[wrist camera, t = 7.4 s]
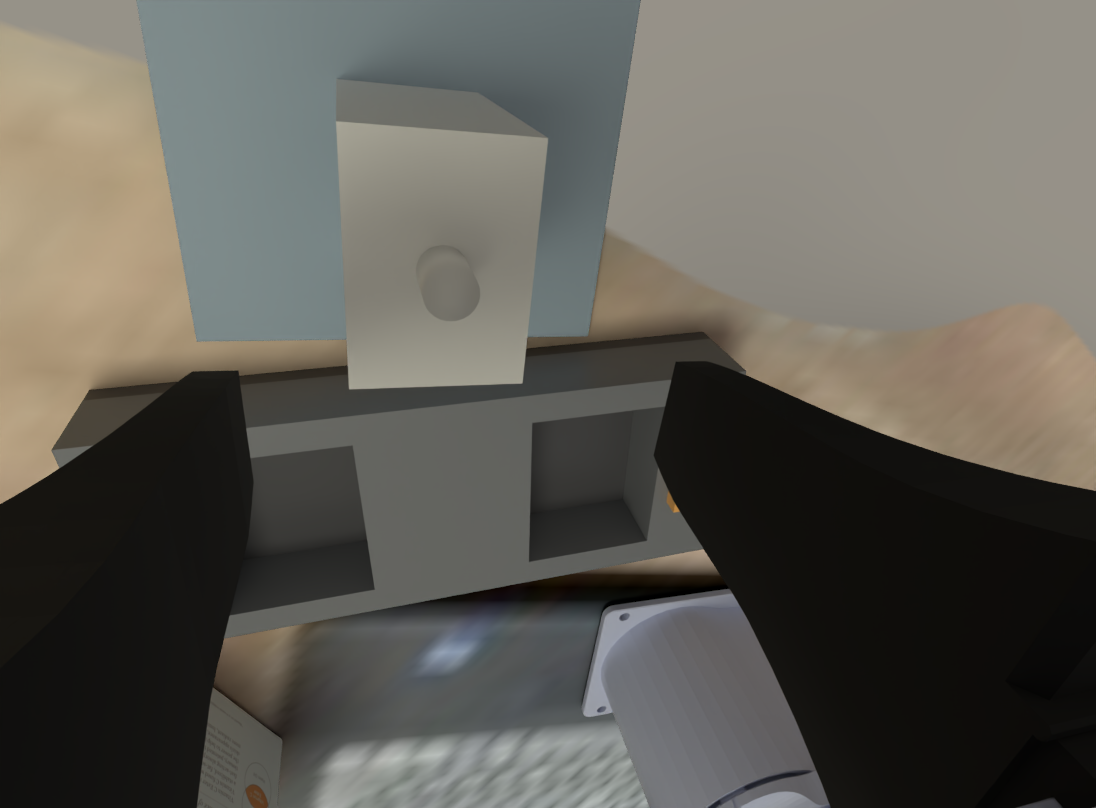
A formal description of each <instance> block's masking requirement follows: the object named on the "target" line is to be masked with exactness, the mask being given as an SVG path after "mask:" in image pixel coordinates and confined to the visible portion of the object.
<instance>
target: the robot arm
mask: <svg viewBox="0 0 1096 808" xmlns="http://www.w3.org/2000/svg"><path fill="white" fill-rule="evenodd" d="M653 456H654V458H655V460H656V463H657V465H658V468H659V470H660V473H661V475H662V477H663V480H664V482H665V484H666V486H667V489H668V491H669V493H670V495H671V497H672V499H673V501H674V503H675V504H676V506H677V508H678V509H679V511H680V513H681V514H682V516H683V517H684V519H685V521H686V522H687V524H688V525H689V527H690V528H691V530H692V532H693V533H694V535H695V536H696V538H697V539H698V541H699V543H700V544H701V546H702V547H703V549H704V550H705V552H706V553H707V555H708V557H709V558H710V560H711V561H712V563H713V564H714V566H715V567H716V569H717V570H718V572H719V574H720V575H721V577H722V578H723V580H724V581H725V583H726V584H727V586H728V588H729V589H724V590H717V591H710V592H703V593H696V594H688V595H681V596H674V597H667V598H660V599H653V600H646V601H639V602H632V603H625V604H618V605H612V606H609V607H607V608H606V609H605V610H604V611H603V613H602V617H601V622H600V626H599V631H598V635H597V640H596V644H595V649H594V653H593V658H592V662H591V667H590V672H589V676H588V681H587V685H586V690H585V694H584V699H583V703H582V711H583V714H584V715H585V716H588V717H592V716H597V715H602V714H607V713H613V714H614V717H615V719H616V722H617V724H618V727H619V729H620V732H621V735H622V737H623V740H624V742H625V745H626V748H627V750H628V753H629V755H630V758H631V760H632V763H633V766H634V768H635V771H636V773H637V776H638V778H639V781H640V784H641V786H642V789H643V791H644V794H645V797H646V799H647V802H648V804H649V807H650V808H1096V491H1093V490H1088V489H1082V488H1077V487H1072V486H1067V485H1062V484H1057V483H1052V482H1048V481H1043V480H1039V479H1034V478H1030V477H1026V476H1021V475H1017V474H1013V473H1009V472H1005V471H1001V470H998V469H994V468H990V467H986V466H982V465H979V464H975V463H971V462H967V461H964V460H960V459H957V458H954V457H950V456H947V455H943V454H940V453H937V452H934V451H931V450H928V449H925V448H922V447H919V446H916V445H913V444H910V443H907V442H904V441H901V440H898V439H895V438H892V437H890V436H887V435H884V434H882V433H879V432H876V431H874V430H871V429H869V428H866V427H864V426H861V425H859V424H856V423H854V422H851V421H849V420H846V419H844V418H841V417H839V416H837V415H834V414H832V413H830V412H827V411H825V410H823V409H820V408H818V407H816V406H813V405H811V404H809V403H807V402H804V401H802V400H800V399H798V398H796V397H793V396H791V395H789V394H787V393H785V392H782V391H780V390H778V389H776V388H773V387H771V386H769V385H767V384H765V383H762V382H760V381H758V380H756V379H753V378H751V377H749V376H746V375H744V374H742V373H739V372H737V371H734V370H732V369H729V368H727V367H724V366H721V365H718V364H715V363H711V362H708V361H682V362H676V363H675V367H674V371H673V375H672V379H671V384H670V388H669V392H668V396H667V400H666V405H665V409H664V413H663V417H662V421H661V426H660V430H659V434H658V438H657V442H656V447H655V451H654V455H653ZM253 485H254V480H253V473H252V466H251V458H250V451H249V444H248V437H247V430H246V422H245V415H244V408H243V401H242V394H241V386H240V379H239V372H238V371H198V372H191V373H190V374H188V375H187V376H185V377H184V378H183V379H181V380H180V381H179V382H177V383H176V384H175V385H173V386H172V387H171V388H169V389H168V390H167V391H166V392H164V393H163V394H162V395H160V396H159V397H158V398H157V399H155V400H154V401H153V402H152V403H150V404H149V405H148V406H146V407H145V408H144V409H142V410H141V411H140V412H138V413H137V414H136V415H135V416H133V417H132V418H131V419H129V420H128V421H127V422H125V423H124V424H123V425H121V426H120V427H119V428H117V429H116V430H115V431H113V432H112V433H111V434H109V435H108V436H107V437H105V438H104V439H102V440H101V441H99V442H98V443H96V444H95V445H93V446H92V447H90V448H89V449H87V450H86V451H84V452H83V453H81V454H80V455H78V456H77V457H75V458H74V459H73V460H71V461H70V462H68V463H67V464H65V465H64V466H62V467H61V468H59V469H58V470H56V471H55V472H53V473H52V474H50V475H49V476H47V477H46V478H44V479H42V480H41V481H39V482H38V483H36V484H34V485H33V486H31V487H29V488H28V489H26V490H24V491H23V492H21V493H19V494H17V495H16V496H14V497H12V498H11V499H9V500H7V501H5V502H3V503H2V504H0V808H197V803H198V794H199V786H200V777H201V769H202V761H203V753H204V746H205V738H206V730H207V723H208V715H209V707H210V700H211V695H212V690H213V684H214V679H215V674H216V669H217V665H218V661H219V657H220V653H221V649H222V645H223V640H224V636H225V632H226V628H227V624H228V620H229V616H230V612H231V608H232V604H233V600H234V596H235V592H236V588H237V584H238V580H239V575H240V571H241V567H242V563H243V559H244V554H245V550H246V546H247V542H248V537H249V528H250V518H251V508H252V496H253Z"/></svg>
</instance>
